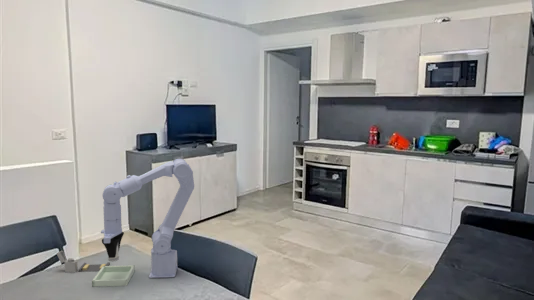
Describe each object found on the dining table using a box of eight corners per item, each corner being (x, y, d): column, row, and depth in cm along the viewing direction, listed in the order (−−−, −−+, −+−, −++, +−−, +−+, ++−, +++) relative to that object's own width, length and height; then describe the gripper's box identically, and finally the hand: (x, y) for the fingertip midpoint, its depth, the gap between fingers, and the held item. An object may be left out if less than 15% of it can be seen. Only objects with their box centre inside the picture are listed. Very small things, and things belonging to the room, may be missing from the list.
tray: (134, 271, 140) (134, 265, 140) (126, 286, 129) (126, 280, 129) (103, 272, 139) (102, 266, 139) (92, 287, 128) (91, 281, 127)
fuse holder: (109, 265, 145) (109, 262, 145) (105, 272, 139) (104, 269, 139) (84, 265, 144) (84, 262, 144) (78, 272, 138) (78, 269, 138)
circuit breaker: (77, 271, 139) (77, 251, 138) (75, 273, 138) (74, 253, 137) (60, 270, 140) (59, 250, 139) (57, 272, 138) (56, 252, 137)
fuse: (120, 257, 135) (119, 240, 134) (116, 261, 131) (116, 244, 131) (110, 257, 135) (109, 240, 134) (106, 261, 131) (106, 244, 130)
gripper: (107, 212, 138) (108, 247, 140) (93, 225, 123) (95, 264, 125) (126, 212, 139) (127, 246, 140) (115, 225, 124) (116, 263, 126)
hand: (113, 255), depth 133 cm, fingers closed on fuse, 3 cm apart
